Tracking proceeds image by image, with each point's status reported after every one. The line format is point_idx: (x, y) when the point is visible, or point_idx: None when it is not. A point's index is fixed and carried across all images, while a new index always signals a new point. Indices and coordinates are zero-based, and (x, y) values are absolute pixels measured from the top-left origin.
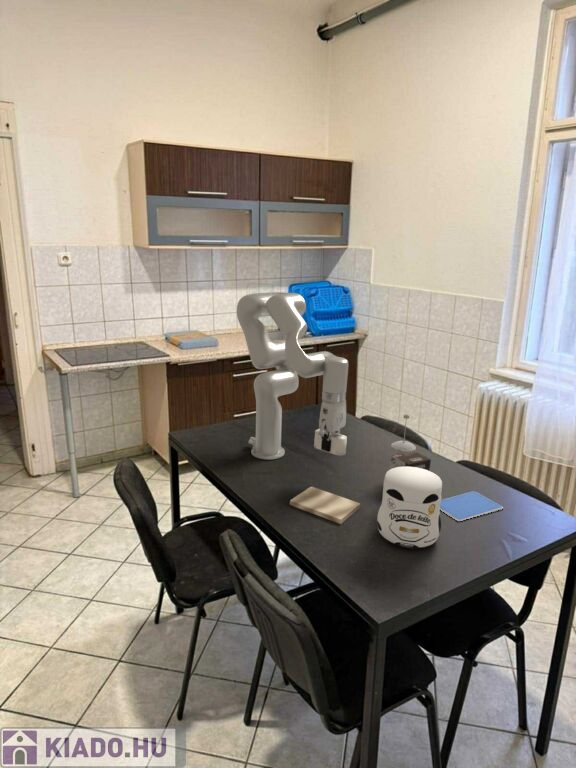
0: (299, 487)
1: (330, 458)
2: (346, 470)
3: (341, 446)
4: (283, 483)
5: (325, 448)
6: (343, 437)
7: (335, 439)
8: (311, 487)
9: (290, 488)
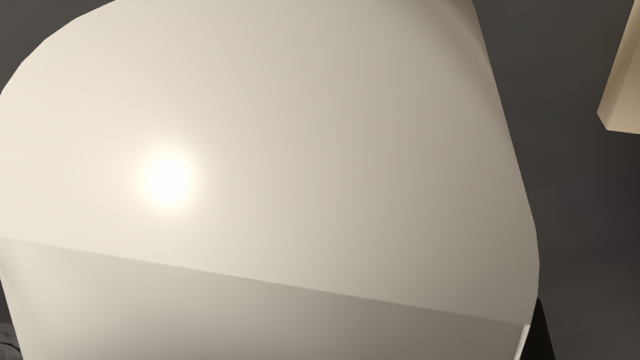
0: (577, 207)
1: None
2: (70, 11)
3: (462, 26)
4: (563, 315)
5: (536, 317)
6: (188, 158)
7: (514, 342)
8: (628, 119)
9: (625, 253)
